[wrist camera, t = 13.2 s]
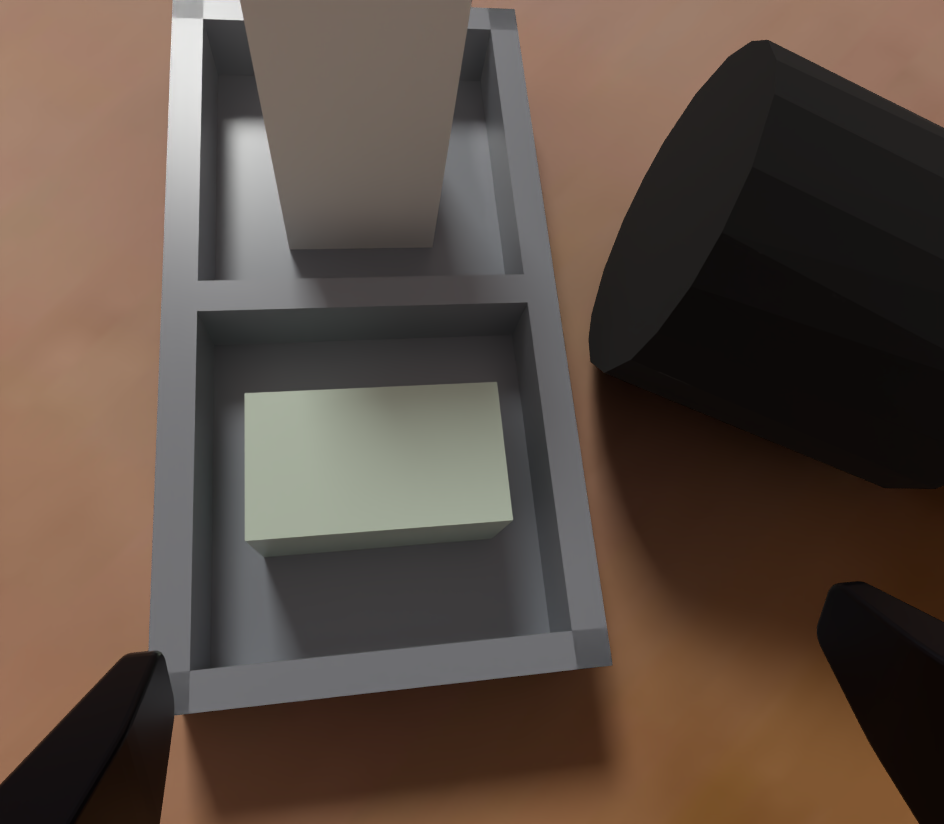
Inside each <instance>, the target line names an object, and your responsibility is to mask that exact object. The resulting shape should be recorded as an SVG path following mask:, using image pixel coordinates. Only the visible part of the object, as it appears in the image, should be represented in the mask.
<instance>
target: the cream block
mask: <svg viewBox="0 0 944 824" xmlns="http://www.w3.org/2000/svg"><path fill="white" fill-rule="evenodd" d="M240 3H241V8H242V13H243V19H244V24H245V29H246V34H247V39H248V44H249V49H250V54H251V59H252V64H253V69H254V74H255V79H256V84H257V89H258V94H259V99H260V104H261V109H262V114H263V119H264V124H265V129H266V134H267V139H268V144H269V149H270V154H271V159H272V164H273V169H274V174H275V179H276V184H277V189H278V194H279V199H280V204H281V209H282V214H283V219H284V225H285V230H286V235H287V240H288V245H289V250H291V249H359V248H426V247H432V246H433V240H434V234H435V228H436V221H437V215H438V209H439V203H440V196H441V190H442V184H443V178H444V171H445V165H446V159H447V153H448V146H449V140H450V134H451V128H452V121H453V115H454V109H455V103H456V96H457V90H458V84H459V78H460V71H461V65H462V59H463V53H464V46H465V40H466V34H467V28H468V21H469V15H470V9H471V3H472V0H240Z"/></svg>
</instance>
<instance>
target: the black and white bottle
mask: <svg viewBox="0 0 944 824" xmlns="http://www.w3.org/2000/svg"><path fill="white" fill-rule="evenodd" d="M589 350H590V361H591V362H592V363H593V364H594V365H595V366H596V367H598V368H599V369H600V370H601V371H603V372H604V373H606V374H608V375H611V376H613V377H616V378H618V379H620V380H623V381H625V382H628V383H630V384H633V385H635V386H637V387H640V388H642V389H645V390H647V391H650V392H652V393H655V394H657V395H659V396H662V397H664V398H667V399H669V400H672V401H674V402H676V403H679V404H681V405H684V406H686V407H689V408H691V409H694V410H696V411H698V412H701V413H703V414H706V415H708V416H711V417H713V418H715V419H718V420H720V421H723V422H725V423H728V424H730V425H733V426H735V427H737V428H740V429H742V430H745V431H747V432H750V433H752V434H754V435H757V436H759V437H762V438H764V439H767V440H769V441H772V442H774V443H776V444H779V445H781V446H784V447H786V448H789V449H791V450H794V451H796V452H798V453H801V454H803V455H806V456H808V457H811V458H813V459H815V460H818V461H820V462H823V463H825V464H828V465H830V466H833V467H835V468H837V469H840V470H842V471H845V472H847V473H850V474H852V475H854V476H857V477H859V478H862V479H864V480H867V481H869V482H872V483H874V484H876V485H879V486H881V487H884V488H913V489H936V488H939V487H941V486H943V485H944V128H943V127H941V126H939V125H937V124H935V123H933V122H931V121H929V120H927V119H925V118H923V117H921V116H919V115H917V114H915V113H913V112H911V111H909V110H907V109H905V108H903V107H901V106H899V105H897V104H895V103H893V102H891V101H889V100H887V99H885V98H883V97H881V96H879V95H877V94H875V93H873V92H871V91H869V90H867V89H865V88H863V87H861V86H859V85H857V84H855V83H853V82H851V81H849V80H847V79H845V78H843V77H841V76H839V75H837V74H835V73H833V72H831V71H829V70H827V69H825V68H823V67H821V66H819V65H817V64H815V63H813V62H811V61H809V60H807V59H805V58H803V57H801V56H799V55H797V54H795V53H793V52H791V51H789V50H787V49H785V48H783V47H781V46H779V45H777V44H775V43H773V42H771V41H769V40H761V41H751V42H750V43H748V44H747V45H745V46H744V47H742V48H741V49H739V50H738V51H736V52H735V53H733V54H732V55H730V56H729V57H728V58H727V59H726V60H725V61H724V62H723V64H722V65H721V66H720V67H719V68H718V69H717V70H716V72H715V73H714V74H713V75H712V76H711V77H710V78H709V80H708V81H707V82H706V83H705V84H704V85H703V86H702V88H701V89H700V90H699V91H698V92H697V93H696V94H695V96H694V97H693V99H692V100H691V102H690V103H689V105H688V106H687V108H686V109H685V111H684V112H683V114H682V116H681V117H680V119H679V120H678V122H677V123H676V125H675V126H674V128H673V129H672V131H671V132H670V134H669V135H668V137H667V138H666V140H665V141H664V143H663V144H662V146H661V148H660V150H659V152H658V153H657V155H656V157H655V159H654V161H653V162H652V164H651V166H650V168H649V170H648V171H647V173H646V175H645V177H644V179H643V181H642V183H641V185H640V187H639V189H638V191H637V193H636V195H635V197H634V199H633V201H632V203H631V206H630V208H629V210H628V212H627V214H626V216H625V218H624V220H623V223H622V225H621V228H620V230H619V233H618V235H617V238H616V240H615V243H614V245H613V248H612V251H611V253H610V256H609V258H608V261H607V263H606V266H605V268H604V271H603V275H602V279H601V282H600V286H599V290H598V293H597V297H596V300H595V304H594V308H593V311H592V316H591V324H590V332H589Z"/></svg>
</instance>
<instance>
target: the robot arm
mask: <svg viewBox="0 0 944 824" xmlns="http://www.w3.org/2000/svg"><path fill="white" fill-rule="evenodd" d="M817 637H818V641H819V644H820V646H821V648H822V650H823V652H824V654H825V656H826V658H827V660H828V662H829V664H830V666H831V668H832V670H833V672H834V674H835V676H836V678H837V680H838V682H839V684H840V686H841V688H842V690H843V692H844V694H845V696H846V698H847V700H848V702H849V704H850V706H851V708H852V710H853V712H854V714H855V716H856V718H857V720H858V722H859V724H860V726H861V728H862V730H863V732H864V734H865V736H866V737H867V739H868V741H869V743H870V745H871V747H872V748H873V750H874V752H875V753H876V755H877V757H878V758H879V760H880V762H881V763H882V765H883V767H884V768H885V770H886V771H887V773H888V775H889V776H890V778H891V779H892V781H893V783H894V784H895V786H896V788H897V789H898V791H899V792H900V794H901V796H902V797H903V799H904V800H905V802H906V804H907V805H908V807H909V808H910V810H911V812H912V813H913V815H914V816H915V818H916V820H917V821H918V823H919V824H944V622H942V621H940V620H938V619H936V618H934V617H932V616H930V615H928V614H926V613H924V612H923V611H921V610H919V609H917V608H915V607H913V606H911V605H909V604H907V603H905V602H903V601H901V600H899V599H897V598H895V597H893V596H891V595H889V594H887V593H885V592H883V591H881V590H879V589H877V588H875V587H873V586H871V585H869V584H867V583H865V582H859V581H855V582H845V583H837V584H834V585H833V586H832V587H831V588H830V589H829V591H828V594H827V597H826V600H825V603H824V606H823V609H822V612H821V615H820V618H819V621H818V625H817ZM174 712H175V703H174V695H173V691H172V686H171V682H170V678H169V673H168V669H167V665H166V660H165V657H164V655H163V654H162V652H160V651H156V650H155V651H145V652H134V653H129V654H126V655H125V656H123V657H122V658H121V659H120V660H119V661H118V662H117V663H116V664H115V665H114V666H113V667H112V668H111V669H110V670H109V671H108V672H107V673H106V674H105V675H104V676H103V677H102V678H101V679H100V681H99V682H98V683H97V684H96V685H95V686H94V687H93V688H92V689H91V690H90V691H89V692H88V693H87V694H86V695H85V696H84V697H83V698H82V699H81V700H80V701H79V703H78V704H77V705H76V706H75V707H74V708H73V709H72V710H71V711H70V712H69V713H68V714H67V715H66V716H65V717H64V718H63V719H62V720H61V721H60V722H59V723H58V725H57V726H56V727H55V728H54V729H53V730H52V731H51V732H50V733H49V734H48V735H47V736H46V737H45V738H44V739H43V740H42V741H41V742H40V743H39V744H38V745H37V747H36V748H35V749H34V750H33V751H32V752H31V753H30V754H29V755H28V756H27V757H26V758H25V759H24V760H23V761H22V762H21V763H20V764H19V765H18V766H17V767H16V769H15V770H14V771H13V772H12V773H11V774H10V775H9V776H8V777H7V778H6V779H5V780H4V781H3V782H2V783H1V784H0V824H160V818H161V810H162V803H163V796H164V788H165V781H166V774H167V766H168V759H169V752H170V744H171V737H172V730H173V722H174Z"/></svg>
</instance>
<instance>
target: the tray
mask: <svg viewBox="0 0 944 824" xmlns="http://www.w3.org/2000/svg"><path fill="white" fill-rule="evenodd" d="M155 650H156V651H160V652H162V654H163V655H164V657H165V660H166V665H167V669H168V673H169V678H170V682H171V686H172V691H173V695H174V703H175V712H174V715H182V714H190V713H199V712H208V711H217V710H225V709H234V708H243V707H252V706H260V705H269V704H278V703H287V702H296V701H304V700H313V699H322V698H331V697H339V696H348V695H357V694H366V693H374V692H383V691H392V690H401V689H409V688H418V687H427V686H436V685H445V684H453V683H462V682H471V681H480V680H488V679H497V678H506V677H515V676H523V675H532V674H541V673H550V672H558V671H567V670H576V669H585V668H594V667H602V666H611V665H612V659H611V652H610V645H609V639H608V632H607V625H606V618H605V612H604V605H603V598H602V592H601V585H600V578H599V572H598V565H597V558H596V552H595V545H594V538H593V531H592V525H591V518H590V511H589V505H588V498H587V491H586V485H585V478H584V471H583V465H582V458H581V451H580V444H579V438H578V431H577V424H576V418H575V411H574V404H573V398H572V391H571V384H570V378H569V371H568V364H567V358H566V351H565V344H564V337H563V331H562V324H561V317H560V311H559V304H558V297H557V291H556V284H555V277H554V271H553V264H552V257H551V250H550V244H549V237H548V230H547V224H546V217H545V210H544V204H543V197H542V190H541V184H540V177H539V170H538V163H537V157H536V150H535V143H534V137H533V130H532V123H531V117H530V110H529V103H528V97H527V90H526V83H525V76H524V70H523V63H522V56H521V50H520V43H519V36H518V30H517V23H516V16H515V10H514V9H497V8H473V7H471V9H470V15H469V21H468V28H467V34H466V40H465V46H464V53H463V59H462V65H461V71H460V78H459V84H458V90H457V96H456V103H455V109H454V115H453V121H452V128H451V134H450V140H449V146H448V153H447V159H446V165H445V171H444V178H443V184H442V190H441V196H440V203H439V209H438V215H437V221H436V228H435V234H434V240H433V246H432V247H426V248H359V249H291V250H289V245H288V240H287V235H286V230H285V225H284V219H283V214H282V209H281V204H280V199H279V194H278V189H277V184H276V179H275V174H274V169H273V164H272V159H271V154H270V149H269V144H268V139H267V134H266V129H265V124H264V119H263V114H262V109H261V104H260V99H259V94H258V89H257V84H256V79H255V74H254V69H253V64H252V59H251V54H250V49H249V44H248V39H247V34H246V29H245V24H244V19H243V13H242V8H241V3H240V0H173V8H172V35H171V61H170V88H169V115H168V142H167V169H166V196H165V223H164V250H163V276H162V303H161V330H160V357H159V384H158V411H157V438H156V465H155V492H154V518H153V545H152V572H151V599H150V626H149V651H155Z"/></svg>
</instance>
